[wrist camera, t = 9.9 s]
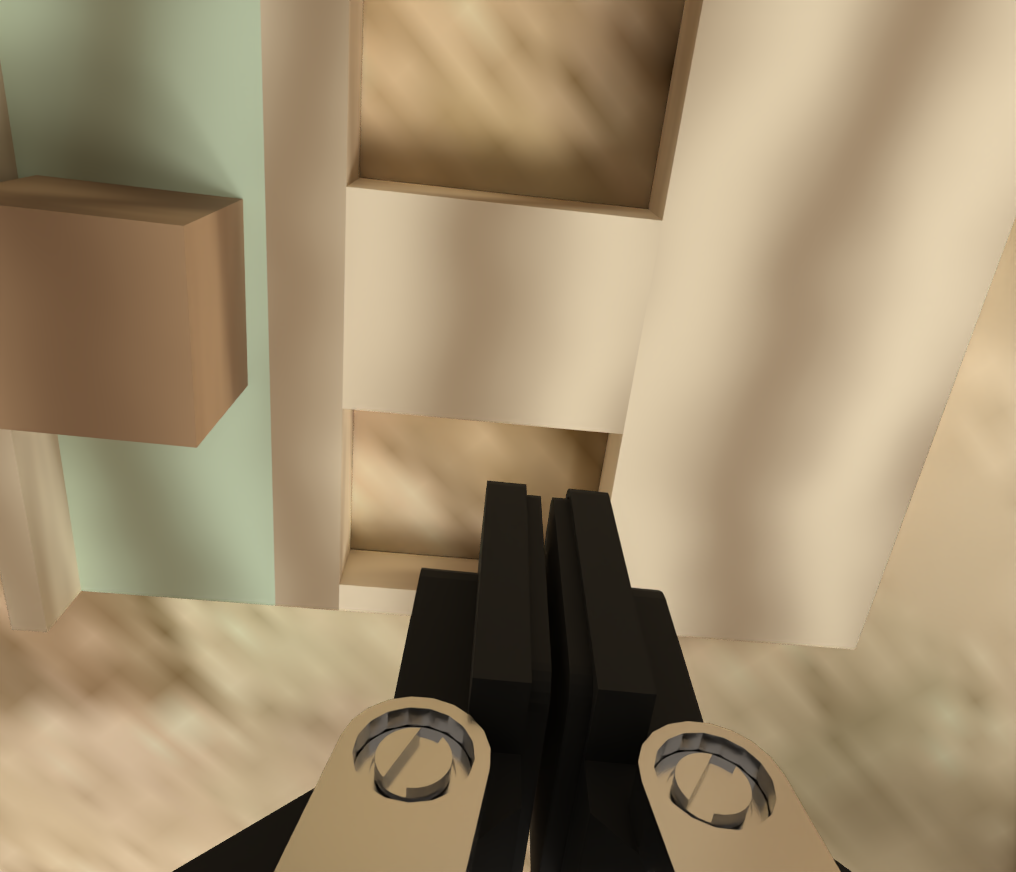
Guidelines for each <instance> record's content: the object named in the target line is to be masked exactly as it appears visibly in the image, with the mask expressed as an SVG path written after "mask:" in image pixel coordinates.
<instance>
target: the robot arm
mask: <svg viewBox="0 0 1016 872" xmlns="http://www.w3.org/2000/svg"><path fill="white" fill-rule="evenodd" d="M529 830H530V861H531V872H851V871H850V870H848V869H847V868H846V867H844V866H843V865H842V864H840V863H839V862H837V861H836V860H835V859H833V857H832V856H831V854H830V852H829V851H828V849H827V847H826V845H825V844H824V842H823V840H822V838H821V837H820V835H819V833H818V831H817V830H816V828H815V826H814V825H813V823H812V821H811V819H810V818H809V816H808V814H807V812H806V811H805V809H804V807H803V806H802V804H801V802H800V800H799V799H798V797H797V795H796V793H795V792H794V790H793V788H792V786H791V785H790V783H789V781H788V780H787V778H786V776H785V775H784V773H783V772H782V771H781V769H780V768H779V767H778V765H777V764H776V763H775V761H774V760H773V759H772V758H771V757H770V756H769V755H768V754H767V753H766V752H764V751H763V750H762V749H761V748H760V747H758V746H757V745H756V744H755V743H754V742H752V741H750V740H749V739H747V738H745V737H743V736H741V735H739V734H738V733H736V732H734V731H732V730H729V729H726V728H723V727H720V726H717V725H713V724H710V723H703V719H702V716H701V713H700V710H699V706H698V703H697V700H696V696H695V693H694V690H693V687H692V683H691V680H690V677H689V673H688V670H687V667H686V664H685V660H684V657H683V654H682V650H681V647H680V644H679V641H678V637H677V634H676V631H675V628H674V624H673V621H672V618H671V614H670V611H669V608H668V605H667V601H666V598H665V596H664V594H663V592H661V591H660V590H653V589H642V588H632V587H631V584H630V580H629V576H628V572H627V567H626V563H625V559H624V555H623V551H622V547H621V542H620V538H619V534H618V530H617V526H616V522H615V518H614V513H613V509H612V505H611V501H610V497H609V494H608V493H606V492H596V491H586V490H576V489H568V491H567V494H566V498H565V499H563V498H553V497H552V500H551V505H550V511H549V518H548V525H547V532H546V539H545V545H544V539H543V524H542V508H541V496H533V495H527V490H526V484H516V483H505V482H495V481H487V488H486V497H485V506H484V516H483V525H482V534H481V544H480V553H479V563H478V572H477V573H474V572H463V571H453V570H442V569H432V568H421V571H420V575H419V580H418V585H417V590H416V594H415V599H414V604H413V609H412V614H411V619H410V624H409V628H408V633H407V638H406V643H405V648H404V653H403V657H402V662H401V667H400V672H399V677H398V682H397V687H396V691H395V696H394V699H390V700H387V701H384V702H382V703H379V704H377V705H374V706H372V707H369V708H368V709H366V710H365V711H363V712H362V713H361V714H359V715H358V716H357V717H355V718H354V719H353V720H352V721H351V722H350V723H349V725H348V726H347V727H346V729H345V730H344V732H343V733H342V734H341V736H340V738H339V740H338V742H337V744H336V746H335V748H334V750H333V752H332V754H331V756H330V758H329V760H328V762H327V764H326V766H325V768H324V770H323V772H322V774H321V776H320V779H319V781H318V783H317V785H316V787H315V788H314V789H312V790H310V791H309V792H307V793H305V794H304V795H302V796H300V797H298V798H297V799H295V800H293V801H292V802H290V803H288V804H287V805H285V806H283V807H281V808H280V809H278V810H276V811H275V812H273V813H271V814H270V815H268V816H266V817H264V818H263V819H261V820H259V821H258V822H256V823H254V824H253V825H251V826H249V827H247V828H246V829H244V830H242V831H241V832H239V833H237V834H235V835H234V836H232V837H230V838H229V839H227V840H225V841H224V842H222V843H220V844H218V845H217V846H215V847H213V848H212V849H210V850H208V851H207V852H205V853H203V854H201V855H200V856H198V857H196V858H195V859H193V860H191V861H190V862H188V863H186V864H184V865H183V866H181V867H179V868H178V869H176V870H174V871H173V872H523V866H524V860H525V854H526V848H527V842H528V836H529Z"/></svg>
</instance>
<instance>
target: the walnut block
mask: <svg viewBox="0 0 1016 872" xmlns="http://www.w3.org/2000/svg"><path fill="white" fill-rule="evenodd" d="M247 386H248V369H247V332H246V295H245V258H244V220H243V199H239V198H230V197H221V196H213V195H204V194H195V193H187V192H178V191H170V190H161V189H152V188H144V187H135V186H127V185H118V184H109V183H101V182H92V181H83V180H75V179H66V178H58V177H49V176H40V175H34V176H29V177H24V178H19V179H14V180H9V181H4V182H0V429H6V430H16V431H26V432H37V433H47V434H58V435H68V436H79V437H89V438H100V439H110V440H120V441H131V442H141V443H152V444H162V445H173V446H183V447H193V448H197V447H198V446H199V444H200V443H201V442H202V441H203V440H204V438H205V437H206V436H207V435H208V433H209V432H210V431H211V430H212V429H213V427H214V426H215V425H216V424H217V422H218V421H219V420H220V419H221V418H222V416H223V415H224V414H225V413H226V412H227V410H228V409H229V408H230V407H231V405H232V404H233V403H234V402H235V401H236V399H237V398H238V397H239V396H240V394H241V393H242V392H243V391H244V390H245V388H246V387H247Z"/></svg>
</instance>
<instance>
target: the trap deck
mask: <svg viewBox="0 0 1016 872" xmlns="http://www.w3.org/2000/svg"><path fill="white" fill-rule="evenodd" d="M362 39H363V0H0V182H4V181H9V180H14V179H19V178H24V177H29V176H34V175H40V176H49V177H58V178H66V179H75V180H83V181H92V182H101V183H109V184H118V185H127V186H135V187H144V188H152V189H161V190H170V191H178V192H187V193H195V194H204V195H213V196H221V197H230V198H239V199H243V220H244V258H245V295H246V332H247V369H248V386H247V387H246V388H245V390H244V391H243V392H242V393H241V394H240V396H239V397H238V398H237V399H236V401H235V402H234V403H233V404H232V405H231V407H230V408H229V409H228V410H227V412H226V413H225V414H224V415H223V416H222V418H221V419H220V420H219V421H218V422H217V424H216V425H215V426H214V427H213V429H212V430H211V431H210V432H209V433H208V435H207V436H206V437H205V438H204V440H203V441H202V442H201V443H200V444H199V446H198V447H197V448H193V447H183V446H173V445H162V444H152V443H141V442H131V441H120V440H110V439H100V438H89V437H79V436H68V435H58V434H47V433H37V432H26V431H16V430H6V429H0V575H1V580H2V585H3V590H4V595H5V600H6V605H7V610H8V614H9V619H10V624H11V629H12V630H21V631H35V632H48V631H49V630H50V629H51V627H52V626H53V625H54V624H55V622H56V621H57V620H58V619H59V618H60V616H61V615H62V614H63V613H64V611H65V610H66V609H67V608H68V607H69V605H70V604H71V603H72V602H73V600H74V599H75V598H76V597H77V595H78V594H79V593H80V592H81V591H90V592H103V593H117V594H130V595H143V596H156V597H169V598H183V599H196V600H209V601H222V602H235V603H248V604H262V605H275V606H288V607H301V608H314V609H327V610H341V611H354V612H367V613H380V614H393V615H407V616H411V614H412V609H413V604H414V599H415V594H416V590H417V585H418V580H419V575H420V571H421V568H432V569H442V570H453V571H463V572H474V573H477V572H478V563H479V560H477V559H465V558H452V557H440V556H427V555H415V554H403V553H390V552H378V551H365V550H353V549H350V541H351V499H352V458H353V416H354V410H363V411H374V412H385V413H396V414H407V415H418V416H429V417H440V418H451V419H462V420H473V421H484V422H495V423H506V424H517V425H528V426H539V427H550V428H561V429H572V430H583V431H594V432H605V433H609V434H608V440H607V446H606V451H605V457H604V463H603V468H602V474H601V480H600V485H599V491H598V492H606V493H608V494H609V497H610V501H611V505H612V509H613V513H614V518H615V522H616V526H617V530H618V534H619V538H620V542H621V547H622V551H623V555H624V559H625V563H626V567H627V572H628V576H629V580H630V584H631V587H632V588H642V589H653V590H660V591H661V592H663V594H664V596H665V598H666V601H667V605H668V608H669V611H670V614H671V618H672V621H673V624H674V628H675V631H676V634H677V636H683V637H696V638H710V639H723V640H736V641H749V642H762V643H775V644H789V645H802V646H815V647H828V648H841V649H856V646H857V643H858V640H859V638H860V635H861V632H862V630H863V627H864V624H865V622H866V619H867V616H868V614H869V611H870V608H871V605H872V603H873V600H874V597H875V595H876V592H877V589H878V587H879V584H880V581H881V579H882V576H883V573H884V570H885V568H886V565H887V562H888V560H889V557H890V554H891V552H892V549H893V546H894V544H895V541H896V538H897V536H898V533H899V530H900V527H901V525H902V522H903V519H904V517H905V514H906V511H907V509H908V506H909V503H910V501H911V498H912V495H913V492H914V490H915V487H916V484H917V482H918V479H919V476H920V474H921V471H922V468H923V466H924V463H925V460H926V458H927V455H928V452H929V449H930V447H931V444H932V441H933V439H934V436H935V433H936V431H937V428H938V425H939V423H940V420H941V417H942V414H943V412H944V409H945V406H946V404H947V401H948V398H949V396H950V393H951V390H952V388H953V385H954V382H955V380H956V377H957V374H958V371H959V369H960V366H961V363H962V361H963V358H964V355H965V353H966V350H967V347H968V345H969V342H970V339H971V336H972V334H973V331H974V328H975V326H976V323H977V320H978V318H979V315H980V312H981V310H982V307H983V304H984V301H985V299H986V296H987V293H988V291H989V288H990V285H991V283H992V280H993V277H994V275H995V272H996V269H997V267H998V264H999V261H1000V258H1001V256H1002V253H1003V250H1004V248H1005V245H1006V242H1007V240H1008V237H1009V234H1010V232H1011V229H1012V226H1013V223H1014V221H1015V218H1016V0H685V4H684V10H683V15H682V21H681V27H680V32H679V38H678V44H677V49H676V55H675V61H674V66H673V72H672V77H671V83H670V89H669V94H668V100H667V106H666V111H665V117H664V123H663V128H662V134H661V140H660V145H659V151H658V157H657V162H656V168H655V174H654V179H653V185H652V191H651V196H650V202H649V208H648V209H643V208H633V207H624V206H615V205H606V204H597V203H587V202H578V201H569V200H560V199H550V198H541V197H532V196H523V195H513V194H504V193H495V192H486V191H477V190H467V189H458V188H449V187H440V186H430V185H421V184H412V183H403V182H394V181H384V180H375V179H366V178H359V165H360V123H361V81H362Z"/></svg>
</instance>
